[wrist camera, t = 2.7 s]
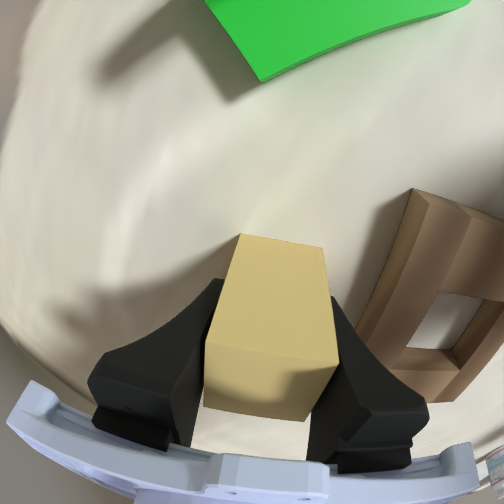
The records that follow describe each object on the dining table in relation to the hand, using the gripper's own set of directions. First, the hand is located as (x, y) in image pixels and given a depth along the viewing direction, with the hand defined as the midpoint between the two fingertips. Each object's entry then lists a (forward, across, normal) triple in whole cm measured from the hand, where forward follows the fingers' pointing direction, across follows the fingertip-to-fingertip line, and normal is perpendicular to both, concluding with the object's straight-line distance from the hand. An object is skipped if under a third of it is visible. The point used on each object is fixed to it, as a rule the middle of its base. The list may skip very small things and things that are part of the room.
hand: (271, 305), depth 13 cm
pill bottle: (+3, -51, +34) cm, 62 cm away
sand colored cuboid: (+2, 0, 0) cm, 2 cm away
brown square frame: (+2, -11, +1) cm, 11 cm away
